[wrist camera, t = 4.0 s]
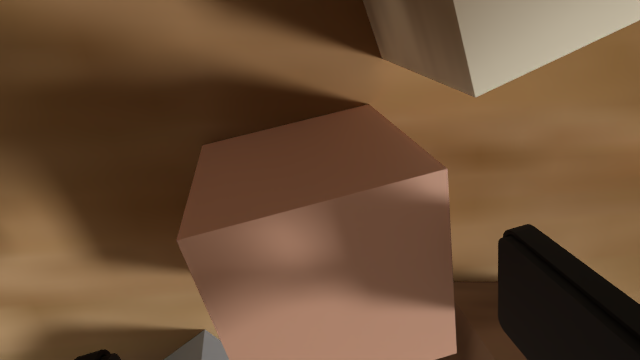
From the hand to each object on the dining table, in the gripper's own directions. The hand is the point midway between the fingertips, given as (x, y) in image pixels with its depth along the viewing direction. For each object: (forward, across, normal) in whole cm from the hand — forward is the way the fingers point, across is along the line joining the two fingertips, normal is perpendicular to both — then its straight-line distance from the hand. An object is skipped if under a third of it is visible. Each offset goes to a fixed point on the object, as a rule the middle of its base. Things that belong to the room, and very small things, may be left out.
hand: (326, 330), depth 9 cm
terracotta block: (+6, -1, 0) cm, 6 cm away
